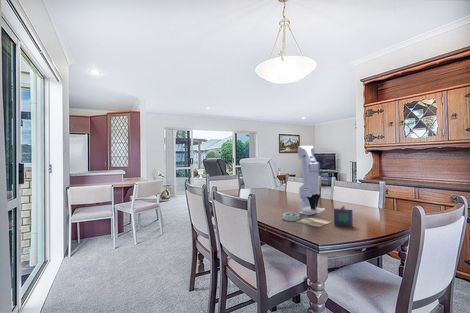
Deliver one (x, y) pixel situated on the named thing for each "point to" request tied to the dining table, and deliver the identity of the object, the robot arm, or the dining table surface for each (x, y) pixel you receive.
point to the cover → (313, 209)
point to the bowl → (291, 216)
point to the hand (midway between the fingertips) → (313, 207)
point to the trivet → (314, 222)
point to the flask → (343, 217)
